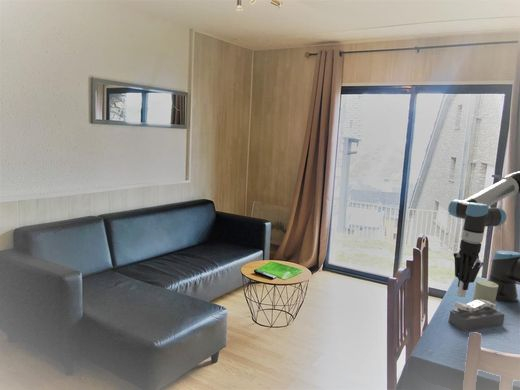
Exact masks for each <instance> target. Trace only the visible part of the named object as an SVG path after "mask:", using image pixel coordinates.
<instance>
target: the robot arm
mask: <svg viewBox="0 0 520 390" xmlns="http://www.w3.org/2000/svg"><path fill="white" fill-rule="evenodd" d="M517 195H520V170H519V171H515V172H512V173H509V174H507V175H505V176H503V177H501V178H500V179H499V180H498V181H497V182H495V183H493V184H492V185H490V186H488V187H486V188H484V189H482V190H480V191H478V192H477V193H475V194H473V195H471V196H469V197H467V198H464V199H463V200H461V199H453V200H451V201H450V202H449V205H448V209H447V210H448V213H449V214H450V215H451V216H452V217H455V218H459V219H462V220H464V223H463V228H462V233H461V240H460V242H459V250H458V252H454V253H452V254H453V258H454V277H456V278H457V279H458V282H457V287H458V289H457V294H456V296H457V297H459V298H465V297H466V293H467V291H468V290H469V286H470V284H471V283H472V284H473V283H475V282H476V281H475V280H477V276H478V274H479V271H480V270H481V268H483V266H484V262H481V260H480V252H481V249H482V243H483V239H484V234H485V228H486V227H499V226H502V225H504V224H505V223H506V221H507V214H506V211H505V210H504V209H502V208H501V207H496V206H495V207H491V206H492V205H494V204H496V203H499V202H500V201H501V200H503V199H505V198H508V197H513V196H517ZM488 281H491V282H494V283H496V284H497V285H498V290H497V295H496V300H497V301H501V302H507V303H514V302H517V300H518V290H517V283H520V252H517V251H511V250H497V251H495V252H494V253H493V258H492V262H491V268H490V273H489V278H488Z"/></svg>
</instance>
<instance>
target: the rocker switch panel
mask: <svg viewBox="0 0 520 390" xmlns="http://www.w3.org/2000/svg"><path fill="white" fill-rule="evenodd" d="M504 320H505V313H503V312H501V311H499V310H497V309H494V308H490V307H486V306H485V307H484V308H481V309H479V310H477V311H473V310H472V312H470V311H465V310H461V309H460V308H458V307H457V308H453V309H452V310H450V311H449V318H448V322H449V323H450V324H452V325H453V326H455V327H456V328H458V329H460V330H461V329H462V330H461V331H463V330H464V331H463V332H466V331H465V330H468V331H473V330H480V329H487V328H493V327H498V326H499V327H500V326H501V327H502V326H503V325H504Z"/></svg>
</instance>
